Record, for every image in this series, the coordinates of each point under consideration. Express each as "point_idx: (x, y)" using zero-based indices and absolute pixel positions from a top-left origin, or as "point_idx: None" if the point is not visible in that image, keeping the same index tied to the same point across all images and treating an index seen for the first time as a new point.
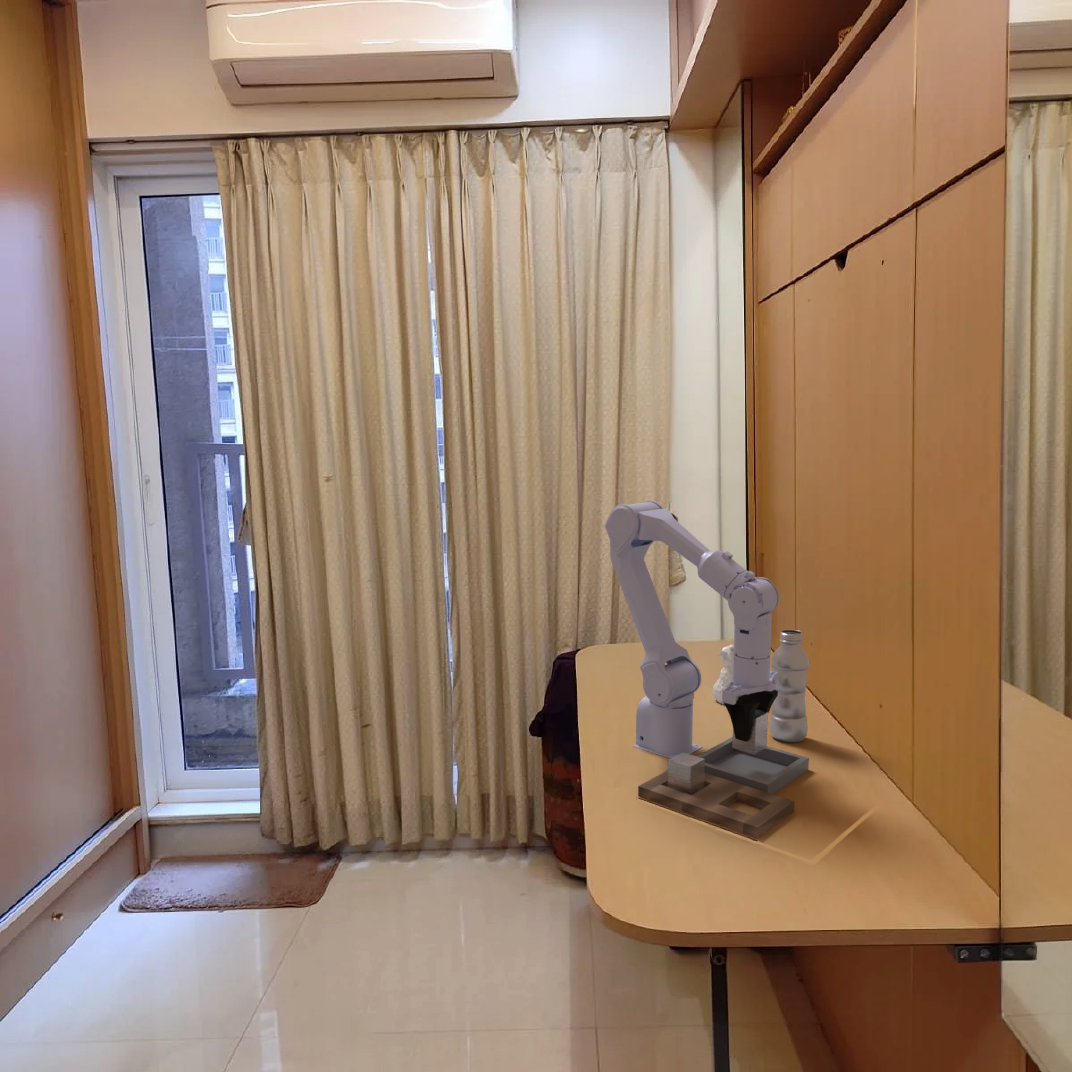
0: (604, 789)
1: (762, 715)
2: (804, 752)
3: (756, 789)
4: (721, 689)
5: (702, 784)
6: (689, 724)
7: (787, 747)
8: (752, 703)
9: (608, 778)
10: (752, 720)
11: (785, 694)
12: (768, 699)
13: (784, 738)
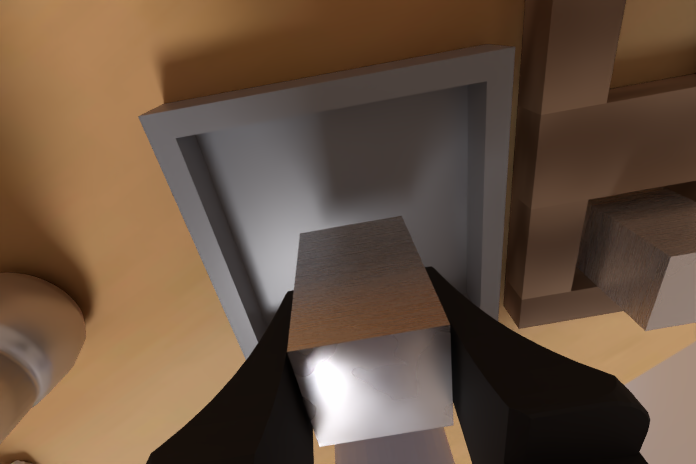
0: (665, 339)
1: (364, 337)
2: (48, 221)
3: (547, 68)
4: None
5: (613, 209)
6: (389, 447)
7: (79, 274)
8: (586, 427)
9: (607, 368)
10: (454, 326)
11: None
12: (272, 439)
13: (66, 302)
